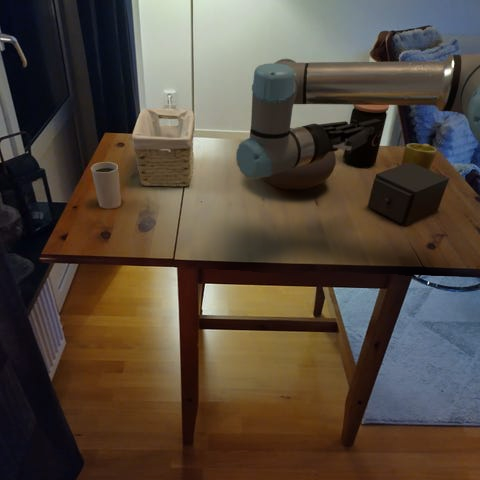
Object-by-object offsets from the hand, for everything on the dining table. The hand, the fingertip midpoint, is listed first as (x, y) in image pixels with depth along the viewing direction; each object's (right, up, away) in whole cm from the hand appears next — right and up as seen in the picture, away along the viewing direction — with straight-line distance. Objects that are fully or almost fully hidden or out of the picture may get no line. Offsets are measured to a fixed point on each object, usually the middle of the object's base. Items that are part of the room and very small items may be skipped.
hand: (377, 125), depth 107 cm
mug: (+25, +3, +41) cm, 48 cm away
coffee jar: (+7, +7, +45) cm, 46 cm away
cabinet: (+13, -14, +21) cm, 29 cm away
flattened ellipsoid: (-17, -4, +31) cm, 35 cm away
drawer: (+11, -15, +19) cm, 27 cm away
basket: (-54, 0, +33) cm, 63 cm away
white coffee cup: (-67, -14, +17) cm, 70 cm away
